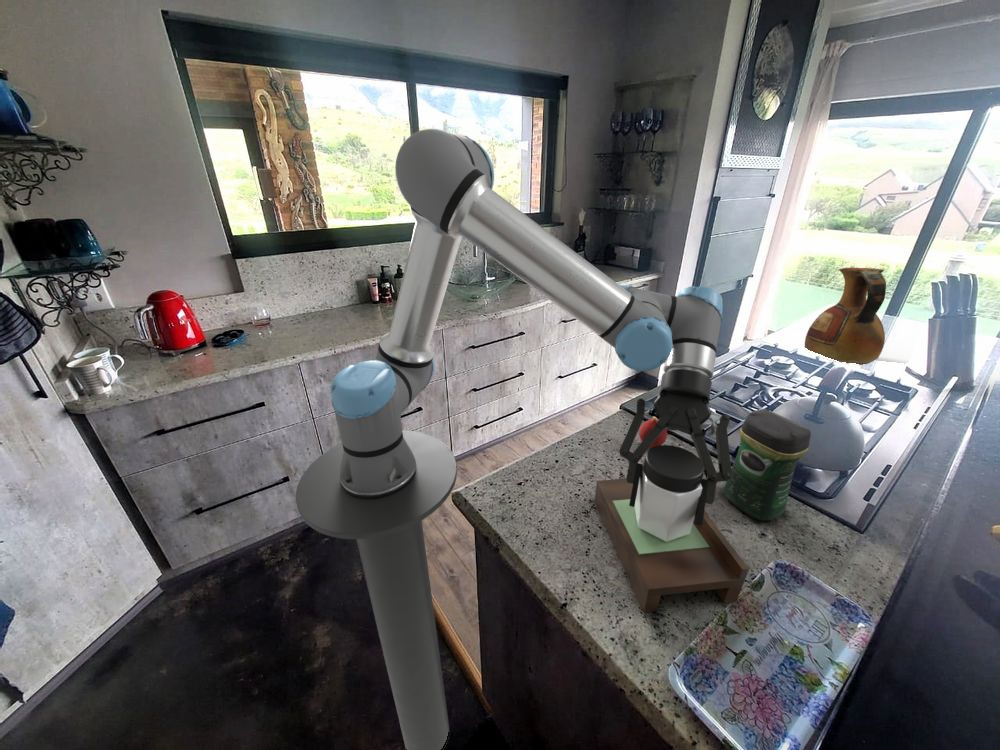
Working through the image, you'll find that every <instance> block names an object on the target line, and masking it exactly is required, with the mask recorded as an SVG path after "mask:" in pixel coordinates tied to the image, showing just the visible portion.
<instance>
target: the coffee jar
mask: <svg viewBox="0 0 1000 750" xmlns="http://www.w3.org/2000/svg"><path fill="white" fill-rule="evenodd" d="M739 434H740V435H739V436H740V441H739V447H738V450H737V454H736V457H735V459H734V462H733V464H732V465H731V470H732V478H731V479H729V480H728V481H724V485H723V489H722V493H723V496H724V497H725V498H726V500H728V501H729V502H730V503H731V504H733V505H734V506H735V507H736V508H737V509H739V510H740V511H742V512H743V513H744V514H746V515H747V516H749V517H751V518H753V519H754V520H758V521H764V522H765V521H768V522H769V521H773V520H775V519H777V518H780V517H781V516H782V515H783V514H784V512H785V510H786V507H787V505H788V504H787V503H788V499H789V494H790V490H791V486H792V482H793V481H792V480H793V477H794V475H795V470H796V467H797V464H798V462H799V460H800V459H801V458H802V457H804V455H806V454H807V452H808V450H809V447H810V442H811V437H812V436H811V435H812V433H811V430H810V429H809V428H807V427H805V426H803V425H801V424H799V423H797V422H794V421H793V420H791V419H788V418H787V417H784V416H782V415H780V414H778V413H775V412H773V411H770V410H769V409H767V408H761V409H757V410H754V411H751V412H749V413H748V414H747V416H746V417H745V418H744V421H743V423H742V425H741V427H740V431H739Z"/></svg>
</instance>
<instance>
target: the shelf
mask: <svg viewBox="0 0 1000 750" xmlns="http://www.w3.org/2000/svg"><path fill="white" fill-rule="evenodd" d="M632 487H633V484H631V483H627V479H626V478H614V479H604V480H603V479H602V480H596V486H595V495H594V504H595V506H596V507H597V511H598V513H599V515H600V517H601V519H602V521H603V524H604V526H605V528H606V530H607V533H608V535H609V537H610V540H611V542H612V544H613V546H614V549H615V551H616V553H617V556H618V558H619V560H620V563H621V564H622V566H623V569H624V572H625V573H626V577H627V578H628V581H629V583H630V585H631V587H632V590H633V592H634V594H635V596H636V598H637V601H638V603H639V606H640V607H641V610H642V612H643V613H653V612H657V611H658V608H659V605H660V600H661V596H666V595H675V594H684V593H685V594H687V593H693V592H703V591H711V590H714V591H715V592H716V594H717V595H718V597H719V598H720V600H721V602H722V603H723V604H729V603H736V602H738V599H739V596H740V593H741V591H742V588H743V585H744V583H745V581H746V578H747V576H748V573H749V570H750V568H749V567H748V565H747V564H746V563H745V561H744V560H743V559H742V557H741V556H740V555H739V554H738V552H737V551H736V550H735V548H734V547H733V546H732V544H731V543H730V541H728V539H727V538H726V536H725V535H724V534H723V533H722V531H721V530H720V529H719V527H718V526H717V524H716V523H715V522H714V521H713V519H712V518H711V517H710V515H709V514H708V513H707V512H706V510H704V517H703V524H702V525H696V524H694V521H695V517H694V521H693V525H692V529H691V532H690V534H688V535H685V536H682V537H679V538H676V539H673V540H671V541H668V542H665V541H663V540H662V539H660V538H658V537H656V536H654V535H652V534H650V533H648V532H646V531H644V530H642V529H640V528H638V525H637V519H636V512H635V506H634V507H631V506H629V503H630V498H631V493H632ZM636 496H637V495H636Z"/></svg>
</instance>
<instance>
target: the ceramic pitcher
mask: <svg viewBox="0 0 1000 750" xmlns="http://www.w3.org/2000/svg"><path fill="white" fill-rule="evenodd" d="M838 271H839V272H840V273H841V274H842V275H843V280H844V286H843V292H842V295H841V298H840V299H839V301H838V302H837V303H836V304H835V305H833V306H832V305H831V306H830V307H828V308H827V309H825V310H824V311H822V312H821V313H820V314H819V315H818V316H817V317H816V318H815V319H814V321H813V322H812V323H811V325H810V326H809V328H808V330H807V332H806V335H805V338H804V349H805V348H807V349H808V350H810V351H813V352H815V353H818V354H821V355H823V356H825V357H828V358H831V359H834V360H837V361H839V362H838V363H842V362H846V363H845V364H849V363H856V364H859V365H858V366H864V365H863V364H865V365H868V364H870V363H873V362H875V361H876V360H878V358H879V357H880V355H881V354H882V352H883V349H884V347H885V342H886V334H885V333H886V332H885V329H884V325H883V322H882V320H881V319H880V317H879V316H878V315H877V313H878V312H879V310H880V309H881V307H882V306H883V303H884V302H885V298H886V291H887V282H886V279H885V276H884V275H883V273H884V271H885V269H884V268H883V269H882V268H875V267H874V268H873V267H855V266H854V267H853V266H852V267H842V268H839V269H838Z"/></svg>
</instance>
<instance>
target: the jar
mask: <svg viewBox="0 0 1000 750" xmlns="http://www.w3.org/2000/svg"><path fill="white" fill-rule="evenodd" d="M644 456H645V457H644V462H643V463H641V464H642V468H641V474H640V479H639V485H638V490H637V496H636V501H635V512H636V519H637V525H638V528H640V529H642V530H644V531H646V532H648V533H650V534H652V535H654V536H656V537H658V538H660V539H662V540H663V541H665V542H668V541H671V540H673V539H676V538H679V537H682V536H685V535H688V534H690V532H691V529H692V525H693V521H694V517H695V514H696V510H697V506H698V503H699V499H700V495H701V492H702V486H701V481H702V479H704V475H705V474H704V466H703V463H702V461H701V460H700V459H699V457H698V455H696V454H695V453H693V452H692V451H689V450H688V449H685V448H682V447H680V446H676V445H669V444H662V445H659V446H655V447H653V448H649V449H648V450H647V451H646V453H645V455H644Z"/></svg>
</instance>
